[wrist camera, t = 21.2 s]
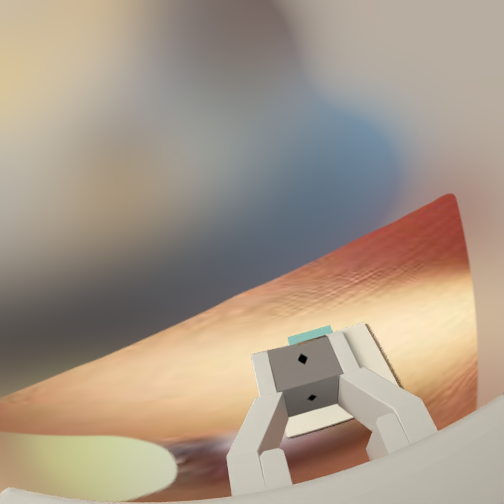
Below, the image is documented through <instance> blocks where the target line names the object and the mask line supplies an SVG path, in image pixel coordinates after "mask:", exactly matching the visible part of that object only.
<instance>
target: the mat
mask: <svg viewBox="0 0 504 504" xmlns="http://www.w3.org/2000/svg"><path fill="white" fill-rule="evenodd" d="M337 331H342V332H343V334H344V336H345V338H346V340H347V342H348V344H349V346H350V348H351V350H352V352H353V354H354V356H355V358H356V360H357V362H358V364H359V366H360V368H363V367H366V368H367V369H369V370H371V371H373V372H374V373H376V374H378V375H380V376H381V377H383V378H385V379H387V380H388V381H390V382H392V383H394V384H395V385H397V386H398V384H397V382H396V380H395V378H394V376H393V374H392V372H391V371H390V369H389V367H388V365H387V363H386V361H385V359H384V358H383V356H382V354H381V352H380V350H379V349H378V347H377V345H376V343H375V341H374V340H373V338H372V336H371V334H370V332H369V331H368V329H367V327H366V325H365V324H364V322H362V323H359V324H356V325H353V326H350V327H347V328H344V329H341V330H337ZM337 331H334V332H337ZM334 332H333V333H334ZM287 346H289V345H287ZM283 347H285V346H283ZM280 348H281V347H280ZM267 354H268V353H267ZM268 358H269V357H268ZM353 418H354V417H353V416H351V415H350V414H349V413H347V412H346V411H345V410H344V409H342V408H341V407H340V406H338V404H335V405H331V406H328V407H324V408H320V409H317V410H313V411H310V412H306V413H303V414H300V415H296V416H293V417H289V420H288V423H287V426H286V428H285V431H286V435H287V438H291V437H295V436H298V435H302V434H306V433H309V432H313V431H316V430H319V429H323V428H326V427H329V426H332V425H335V424H338V423H341V422H344V421H347V420H350V419H353Z"/></svg>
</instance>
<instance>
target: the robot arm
mask: <svg viewBox="0 0 504 504" xmlns="http://www.w3.org/2000/svg"><path fill="white" fill-rule="evenodd" d="M267 353H268V354H267ZM268 357H269V358H268ZM251 359H252V364H253V368H254V373H255V378H256V383H257V387H258V392H259V397H256V398H255V399H254V401H253V403H252V406H251V408H250V410H249V412H248V414H247V416H246V418H245V420H244V422H243V424H242V427H241V429H240V431H239V433H238V435H237V437H236V439H235V441H234V443H233V445H232V447H231V449H230V451H229V453H228V455H227V464H228V471H229V478H230V485H231V491H232V496H231V497H223V498H215V499H206V500H195V501H180V502H153V503H135V502H109V501H95V500H83V499H75V498H66V497H60V496H53V495H47V494H42V493H36V492H31V491H26V490H22V489H18V488H11V487H10V488H6V489H5V490H4V491H3V492H2V493H1V494H0V504H504V393H502V394H501V395H499V396H498V397H496V398H495V399H493V400H492V401H490V402H489V403H487V404H485V405H484V406H482V407H481V408H479V409H477V410H476V411H474V412H472V413H471V414H469V415H467V416H465V417H464V418H462V419H460V420H458V421H457V422H455V423H453V424H451V425H449V426H447V427H446V428H444V429H442V430H440V431H438V430H437V428H436V426H435V424H434V422H433V421H432V419H431V417H430V415H429V413H428V411H427V409H426V407H425V405H424V403H423V402H422V400H421V399H420V398H419V397H417V396H415V395H413V394H411V393H410V392H408V391H406V390H404V389H402V388H401V387H399V386H397V385H395V384H394V383H392V382H390V381H388V380H387V379H385V378H383V377H381V376H380V375H378V374H376V373H374V372H373V371H371V370H369V369H367V368H366V367H363V368H360V366H359V364H358V362H357V360H356V358H355V356H354V354H353V352H352V350H351V348H350V346H349V344H348V342H347V340H346V338H345V336H344V334H343V332H342V331H337V332H334V333H331V334H327V335H323V336H319V337H316V338H313V339H309V340H306V341H302V342H299V343H296V344H294V345H289V346H285V347H281V348H276V349H272V350H267V351H263V352H259V353H254V354H251ZM335 404H338V406H340V407H341V408H342V409H344V410H345V411H346V412H347V413H349V414H350V415H351V416H353V417H354V418H355V419H357V420H358V421H359V422H361V423H362V424H363V425H365V426H366V427H367V428H369V429H370V430H371V431H373V432H372V435H371V437H370V440H369V443H368V445H367V448H366V451H367V454H368V456H369V459H370V462H367V463H364V464H361V465H358V466H356V467H353V468H350V469H347V470H344V471H341V472H337V473H334V474H331V475H328V476H324V477H321V478H317V479H314V480H310V481H306V482H302V483H298V484H294V485H293V481H292V477H291V474H290V470H289V467H288V464H287V461H286V457H285V454H284V451H283V450H281V449H278V448H279V446H280V443H281V440H282V437H283V434H284V431H285V428H286V426H287V423H288V420H289V417H293V416H296V415H300V414H303V413H306V412H310V411H313V410H317V409H320V408H324V407H328V406H331V405H335Z"/></svg>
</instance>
